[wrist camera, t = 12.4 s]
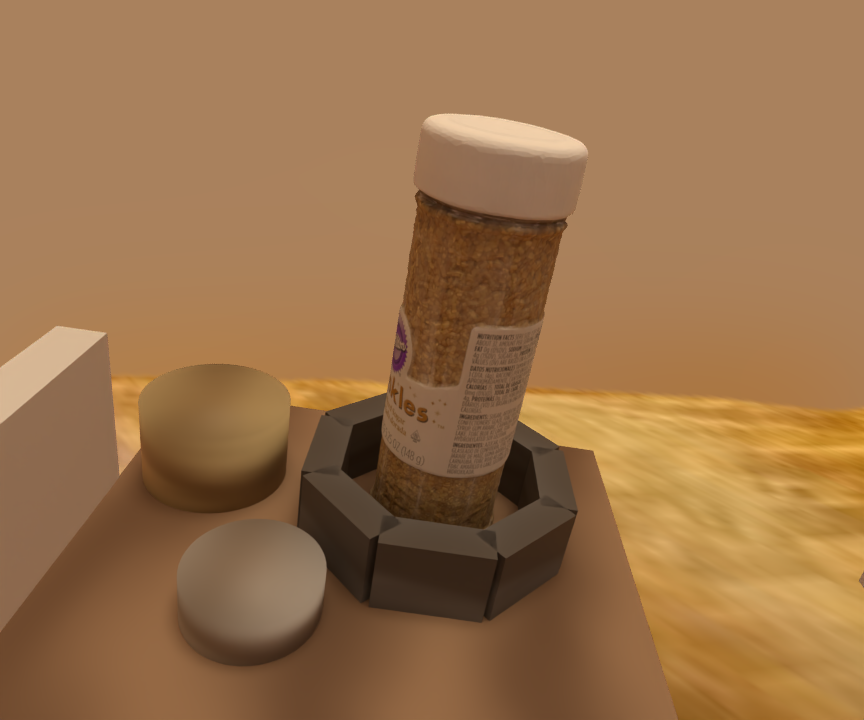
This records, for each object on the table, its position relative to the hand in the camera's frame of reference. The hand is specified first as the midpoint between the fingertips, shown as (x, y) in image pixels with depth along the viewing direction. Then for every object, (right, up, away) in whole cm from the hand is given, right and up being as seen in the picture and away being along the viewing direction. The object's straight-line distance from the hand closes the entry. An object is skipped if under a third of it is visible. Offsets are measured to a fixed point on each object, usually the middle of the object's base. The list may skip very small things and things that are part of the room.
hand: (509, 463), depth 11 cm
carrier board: (-4, -7, +11) cm, 13 cm away
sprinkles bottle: (-1, -4, +13) cm, 14 cm away
